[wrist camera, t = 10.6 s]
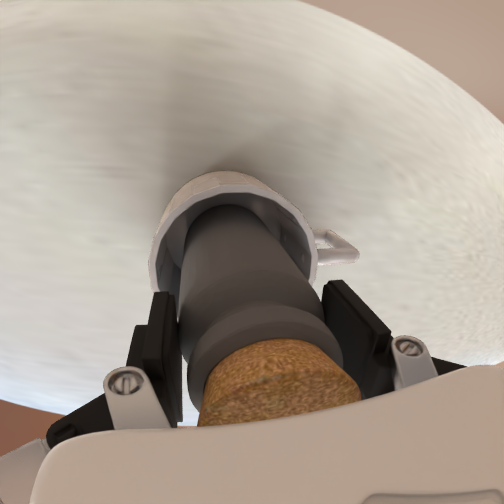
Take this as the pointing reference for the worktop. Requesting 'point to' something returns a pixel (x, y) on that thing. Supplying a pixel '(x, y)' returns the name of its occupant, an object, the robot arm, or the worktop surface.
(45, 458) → the robot arm
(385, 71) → the worktop surface
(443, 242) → the worktop surface
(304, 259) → the mug
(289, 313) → the bottle
